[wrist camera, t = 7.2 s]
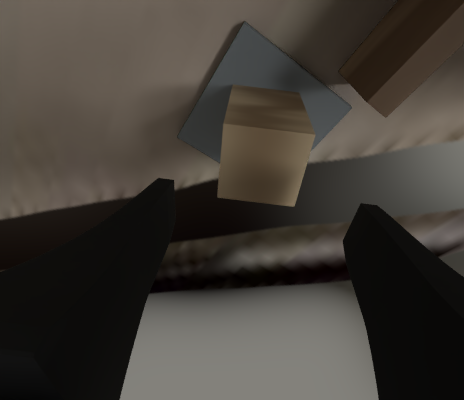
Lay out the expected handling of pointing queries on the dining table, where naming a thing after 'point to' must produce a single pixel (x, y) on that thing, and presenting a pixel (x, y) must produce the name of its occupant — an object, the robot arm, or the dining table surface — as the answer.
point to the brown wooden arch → (405, 50)
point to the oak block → (264, 146)
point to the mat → (262, 76)
